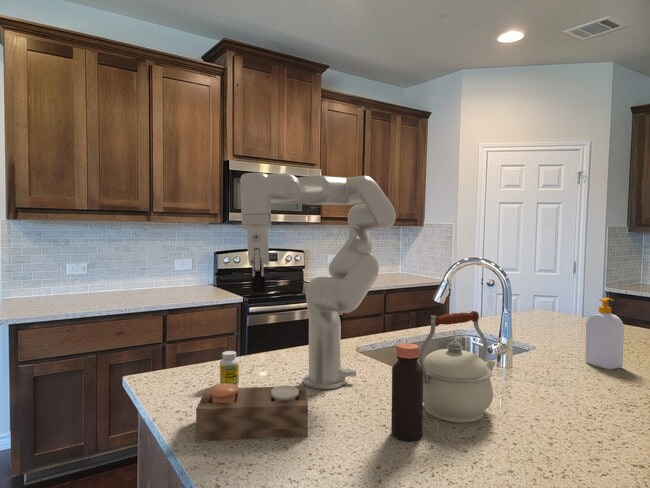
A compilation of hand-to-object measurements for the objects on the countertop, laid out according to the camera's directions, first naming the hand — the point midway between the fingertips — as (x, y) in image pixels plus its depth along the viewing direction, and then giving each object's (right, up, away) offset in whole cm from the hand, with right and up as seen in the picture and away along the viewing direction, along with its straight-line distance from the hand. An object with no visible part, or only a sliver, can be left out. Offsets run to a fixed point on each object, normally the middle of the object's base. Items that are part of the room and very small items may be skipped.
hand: (258, 291), depth 114 cm
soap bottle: (+113, -29, +35) cm, 122 cm away
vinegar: (+35, -30, -17) cm, 49 cm away
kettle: (+51, -30, -3) cm, 59 cm away
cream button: (+8, -28, -12) cm, 31 cm away
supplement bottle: (-11, -29, +14) cm, 34 cm away
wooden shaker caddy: (+1, -30, -13) cm, 33 cm away
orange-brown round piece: (-6, -27, -14) cm, 31 cm away
